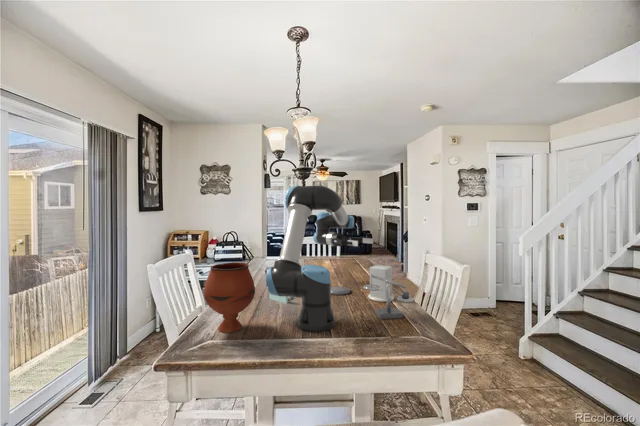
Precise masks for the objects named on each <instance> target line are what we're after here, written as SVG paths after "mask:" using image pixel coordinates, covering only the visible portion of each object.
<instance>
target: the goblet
mask: <svg viewBox="0 0 640 426" xmlns="http://www.w3.org/2000/svg"><path fill="white" fill-rule="evenodd" d="M209 269H210V270H209V273H208V276H207V278H206V281H205V284H204V288H203V297H204V300H205V302H206V305H207V306H208V307H209V308H211V310H213V311H214V312H215V313H217V314H219V315H222V318H223V319H224V320H223V321H222V322H221V323H220V325H219V326H218V328H217V330H218V331H219V332H222V333H224V334H225V333H234V332H237V331H240V329H242V324H241V322H240V321H239V319H238V317H239V314H240V313H241V312H243V311H244V310H246V309H247V308H248V307H249V305H250V304H251V303H252V302H253V300H254V298H255V295H256V287H255V282H254V279H253V276H252V273H251V271H250V269H249V263H247V262H225V263H217V264H213V265H211V267H210V268H209Z"/></svg>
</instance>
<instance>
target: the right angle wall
mask: <svg viewBox="0 0 640 426" xmlns="http://www.w3.org/2000/svg"><path fill="white" fill-rule="evenodd" d="M268 293H269V292H268ZM292 299H293V297H286V296H276V295H271V294H270V293H269V300H272V301H276V302H280V303H284V304H287V303H289V301H291V300H292Z"/></svg>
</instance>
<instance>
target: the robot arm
mask: <svg viewBox="0 0 640 426" xmlns="http://www.w3.org/2000/svg"><path fill="white" fill-rule="evenodd" d="M284 202H285V203H284V204H285V207H286V209H287V212H288V213H289V215H288V220H287V225H286V228H285V232H284V237H283V241H282V245H281V249H280V254H279V258H278V259H276V260H275V261H274V264H273V266H268V267H269V268H268V270H267V273H266V274H265V286H266V289H267V292H268V293H270V294H271V295H276V296H286V297H292V298H300V299H301V308H300V311H299V314H298V317H297V326H298V328H300V329H301V330H304V331H307V332H325V331H328V330H331V329H333V328H335V326H336V317H335V315H334V311H333V308H332V303H331V302H332V301H331V300H332V299H331V297H332V294H331V287H332V286H331V285H332V279H331V271H330V270H329V268H327V267H325V266H322V265H317V264H304V265H301V264H300V257H301V252H302V248H303V241H304V238H305V233H306V228H307V222H308V218H309V217H310V216H312V214H313V211H318V210H319V211H321V210H322V211H323V212H322V211H321V212H317V217H316V218H317V219H316V224H317V225H316V228H317V231H316V232H314V233H313V238H312V239H313V241H314V243H316V244H319V245H323V246H324V245H327V246H330V247H333V246H334V247H342V246H344V247H347V246H349V247H350V246H351V247H359V243H363V244H371V245H373V244H374V238H369V237H365V236H362V237H357V236H345V235H344V234H343V233H340V232H339V233H338V232H331V229H353V228H354V227H355V218H354V216H353V215H349V214H348V213H347V212H346V210H345V208H344V206H343V202H342V198H341V197H340V194H338V193H337V192H336V191H335V190H333V189H331V188H330V187H327V186H324V185H295V186H291V187H289V189H287V191H286V194H285V201H284Z"/></svg>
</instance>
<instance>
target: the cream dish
mask: <svg viewBox="0 0 640 426" xmlns="http://www.w3.org/2000/svg"><path fill="white" fill-rule="evenodd" d="M367 298H368V299H369V300H371V301H374V302H378V303H379V302H381V303H382V302H384V303H387V302H386V299H383V298H377V297H371V296H370V293H369V294H368V296H367ZM394 300H395V295H394V294H392V295H391V302H392V301H394Z"/></svg>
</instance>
